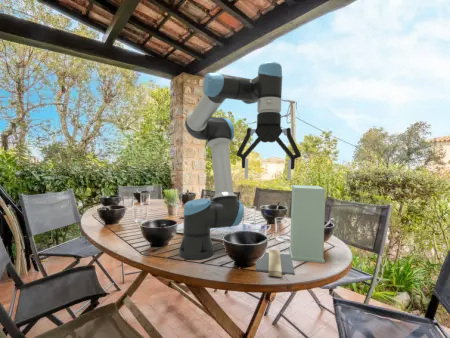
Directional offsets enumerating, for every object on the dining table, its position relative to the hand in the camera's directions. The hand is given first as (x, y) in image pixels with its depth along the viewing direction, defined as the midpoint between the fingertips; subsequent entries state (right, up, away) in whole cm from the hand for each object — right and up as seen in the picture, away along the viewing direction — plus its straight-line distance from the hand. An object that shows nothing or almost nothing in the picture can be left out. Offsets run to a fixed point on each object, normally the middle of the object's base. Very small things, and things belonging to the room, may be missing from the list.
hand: (267, 179), depth 79 cm
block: (+6, -34, +16) cm, 38 cm away
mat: (+6, -34, +19) cm, 40 cm away
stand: (+22, -34, +28) cm, 49 cm away
